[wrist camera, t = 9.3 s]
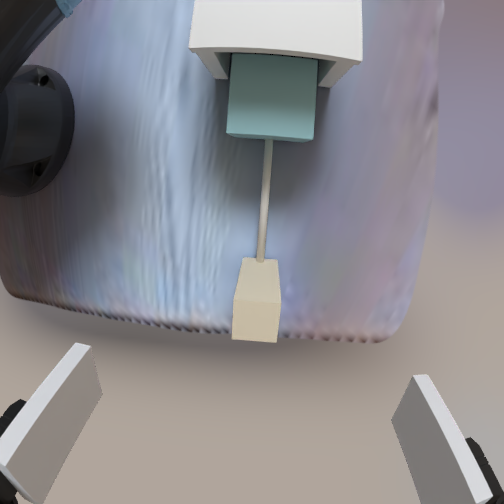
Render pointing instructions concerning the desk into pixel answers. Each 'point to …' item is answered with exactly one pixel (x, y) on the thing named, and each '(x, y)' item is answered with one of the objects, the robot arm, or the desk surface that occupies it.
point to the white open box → (279, 32)
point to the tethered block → (267, 168)
